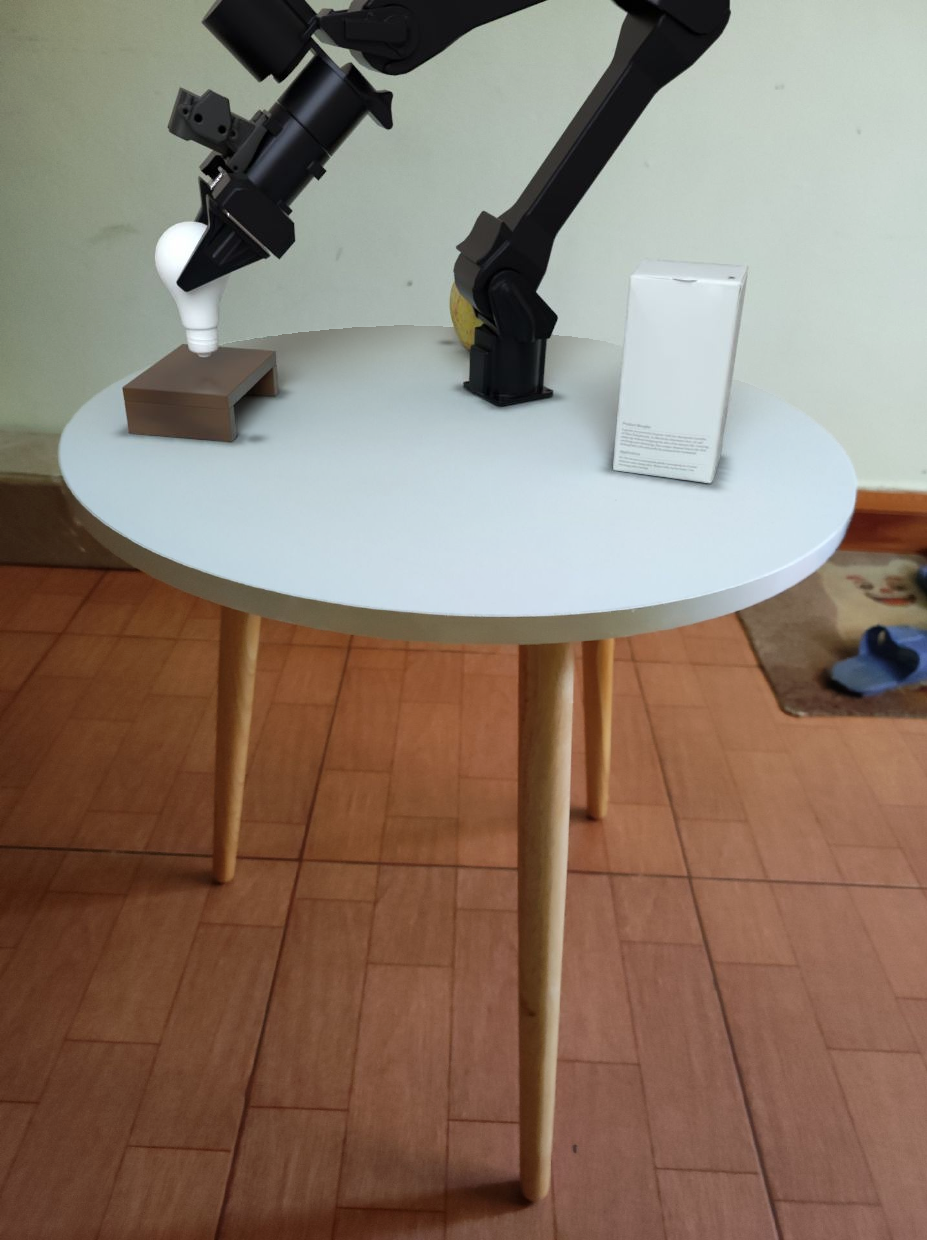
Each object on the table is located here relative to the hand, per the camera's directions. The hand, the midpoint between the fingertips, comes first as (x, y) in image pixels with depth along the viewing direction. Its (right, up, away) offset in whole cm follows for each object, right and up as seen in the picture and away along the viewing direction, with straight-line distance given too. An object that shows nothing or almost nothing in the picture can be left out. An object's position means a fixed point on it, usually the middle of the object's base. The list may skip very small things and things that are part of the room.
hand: (178, 278), depth 82 cm
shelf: (+1, -10, +6) cm, 12 cm away
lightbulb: (+1, -6, +4) cm, 7 cm away
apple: (+26, 0, +25) cm, 36 cm away
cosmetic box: (+40, -16, -1) cm, 43 cm away
